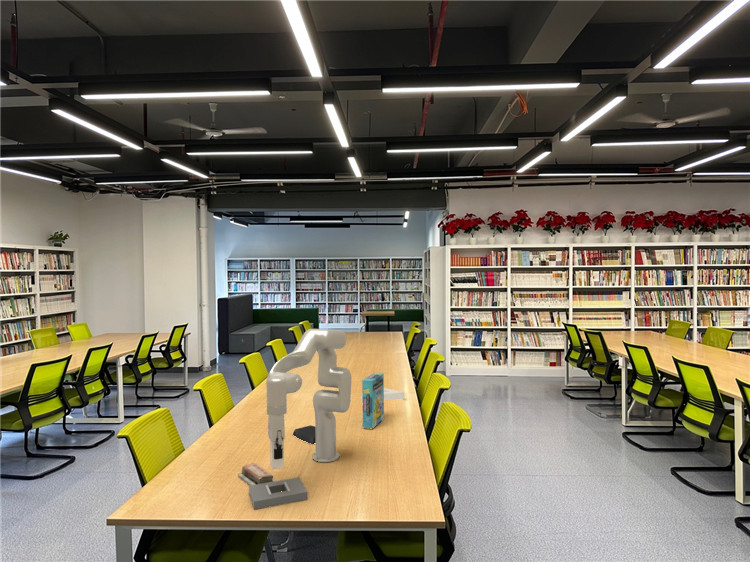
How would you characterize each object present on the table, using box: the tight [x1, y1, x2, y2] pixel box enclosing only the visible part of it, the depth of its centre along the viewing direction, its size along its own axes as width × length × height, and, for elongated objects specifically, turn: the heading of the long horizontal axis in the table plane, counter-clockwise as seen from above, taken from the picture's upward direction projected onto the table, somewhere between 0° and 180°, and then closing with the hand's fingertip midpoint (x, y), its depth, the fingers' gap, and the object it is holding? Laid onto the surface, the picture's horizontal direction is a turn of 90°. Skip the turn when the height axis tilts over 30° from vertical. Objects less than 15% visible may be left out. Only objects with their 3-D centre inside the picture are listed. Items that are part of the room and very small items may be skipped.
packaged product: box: [237, 462, 277, 487], centre depth 199 cm, size 18×5×10 cm
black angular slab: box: [292, 424, 316, 445], centre depth 250 cm, size 13×19×4 cm
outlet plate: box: [248, 476, 309, 511], centre depth 185 cm, size 14×20×3 cm
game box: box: [361, 372, 385, 429], centre depth 272 cm, size 20×6×27 cm, turn 161°
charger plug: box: [269, 439, 285, 470], centre depth 184 cm, size 4×4×13 cm
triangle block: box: [360, 387, 405, 404], centre depth 321 cm, size 30×26×6 cm
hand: (277, 455), depth 184 cm, fingers closed on charger plug, 4 cm apart
